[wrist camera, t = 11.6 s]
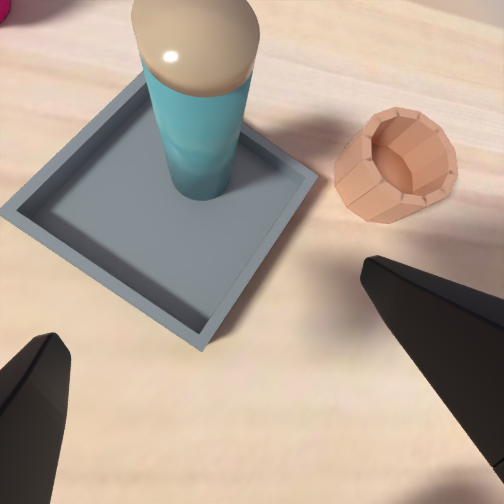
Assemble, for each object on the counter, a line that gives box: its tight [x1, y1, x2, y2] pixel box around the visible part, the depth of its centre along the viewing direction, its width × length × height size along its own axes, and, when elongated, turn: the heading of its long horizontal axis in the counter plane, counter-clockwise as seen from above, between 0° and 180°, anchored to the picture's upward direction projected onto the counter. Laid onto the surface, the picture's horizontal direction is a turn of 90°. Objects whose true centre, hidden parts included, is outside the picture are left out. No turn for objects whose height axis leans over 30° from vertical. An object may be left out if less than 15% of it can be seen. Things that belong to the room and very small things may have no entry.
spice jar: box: [131, 0, 260, 201], centre depth 16 cm, size 5×5×12 cm
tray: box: [0, 70, 318, 352], centre depth 21 cm, size 16×16×2 cm
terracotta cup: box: [335, 107, 458, 224], centre depth 24 cm, size 8×8×4 cm
